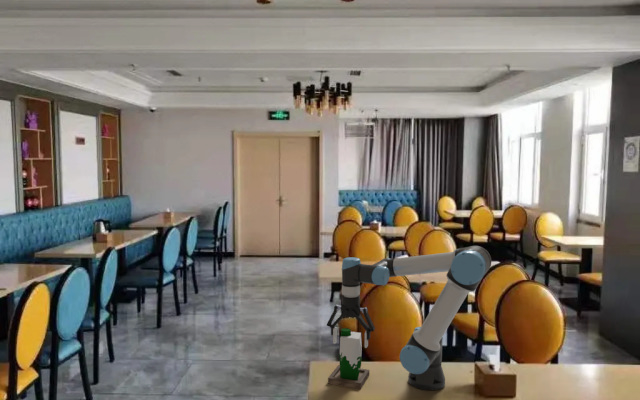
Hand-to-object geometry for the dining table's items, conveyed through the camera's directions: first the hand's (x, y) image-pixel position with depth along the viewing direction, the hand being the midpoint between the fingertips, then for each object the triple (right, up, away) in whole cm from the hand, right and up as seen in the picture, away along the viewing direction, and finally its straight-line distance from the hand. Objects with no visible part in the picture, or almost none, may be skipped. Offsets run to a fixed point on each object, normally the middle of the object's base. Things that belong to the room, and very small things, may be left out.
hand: (350, 344), depth 221 cm
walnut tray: (0, -15, +2) cm, 15 cm away
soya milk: (0, -14, +1) cm, 14 cm away
